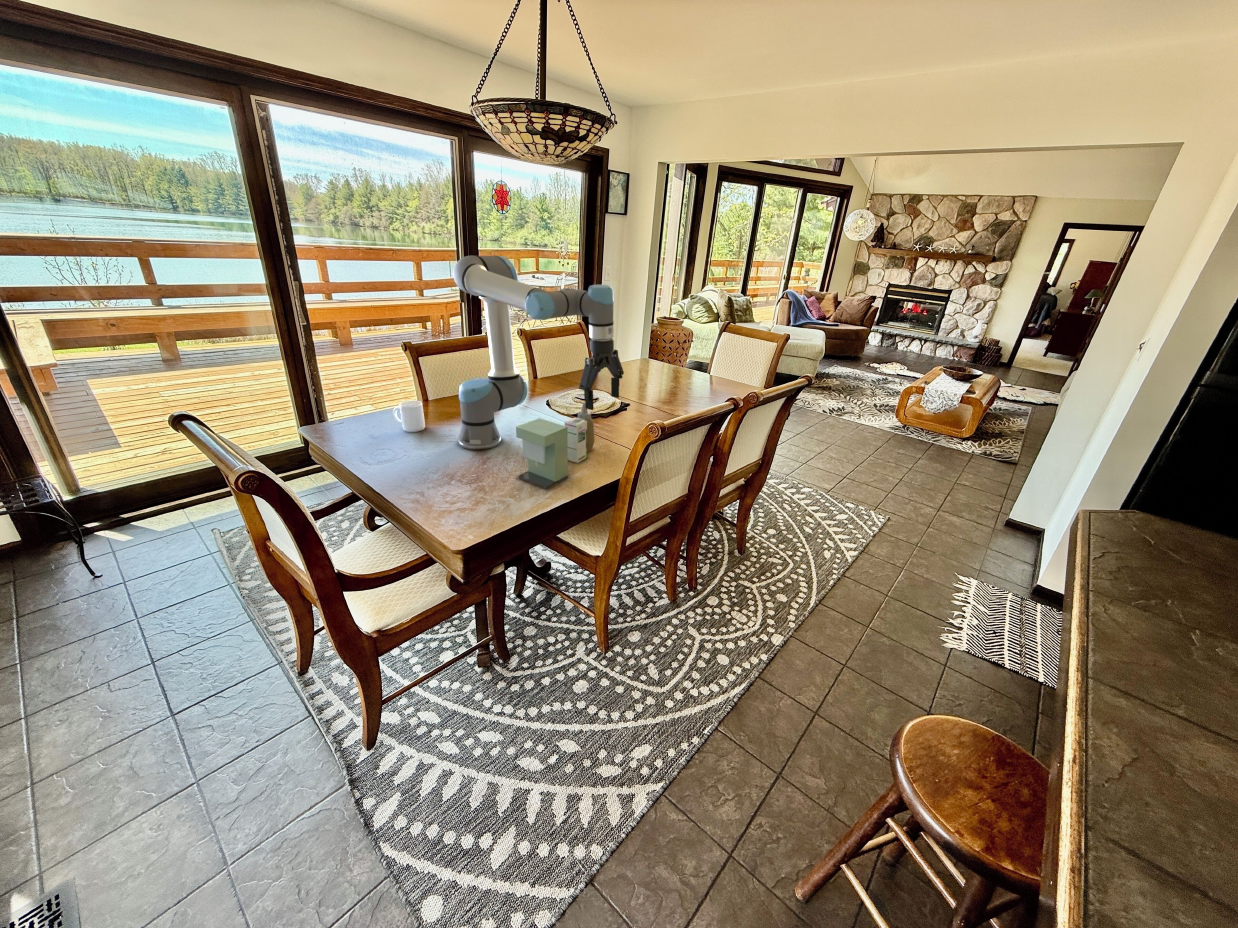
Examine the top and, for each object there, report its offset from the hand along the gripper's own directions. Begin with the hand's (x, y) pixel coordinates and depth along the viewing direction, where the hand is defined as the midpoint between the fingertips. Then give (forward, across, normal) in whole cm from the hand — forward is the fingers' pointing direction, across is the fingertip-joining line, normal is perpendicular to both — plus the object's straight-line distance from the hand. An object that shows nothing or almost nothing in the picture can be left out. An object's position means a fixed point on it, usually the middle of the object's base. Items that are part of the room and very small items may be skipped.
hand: (602, 402), depth 159 cm
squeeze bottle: (+23, +4, +13) cm, 27 cm away
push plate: (+13, -26, +7) cm, 30 cm away
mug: (+21, -27, +77) cm, 84 cm away
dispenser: (+21, -22, +8) cm, 32 cm away
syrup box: (+23, -4, +10) cm, 25 cm away
